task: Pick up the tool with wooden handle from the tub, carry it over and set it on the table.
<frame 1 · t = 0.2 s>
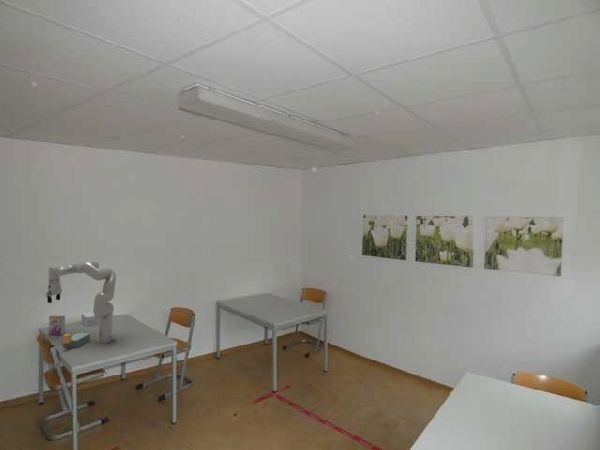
hand: (53, 301, 295), 31 cm above the table, fingers open, 9 cm apart
tub: (76, 344, 283), on the table
candy bar box: (56, 334, 305), on the table
tool with wooden handle: (76, 337, 283), point 6 cm above the table, touching tub
walnut cube B: (74, 345, 280), point 1 cm above the table, touching tub
walnut cube A: (79, 342, 286), point 1 cm above the table, touching tub
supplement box: (91, 323, 336), on the table
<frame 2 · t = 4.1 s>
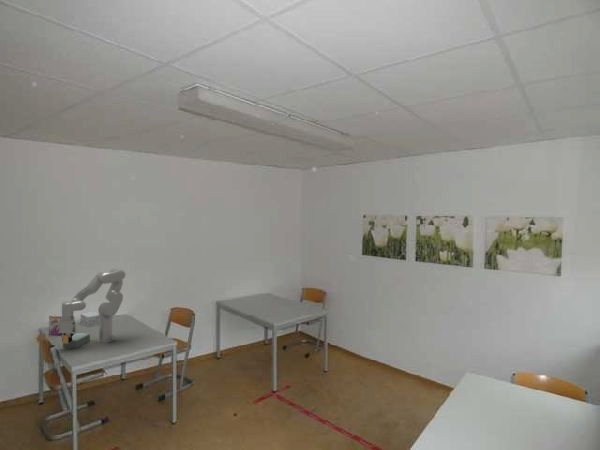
hand: (67, 341, 272), 7 cm above the table, fingers closed on tool with wooden handle, 4 cm apart
tool with wooden handle: (76, 337, 283), point 6 cm above the table, touching gripper, tub
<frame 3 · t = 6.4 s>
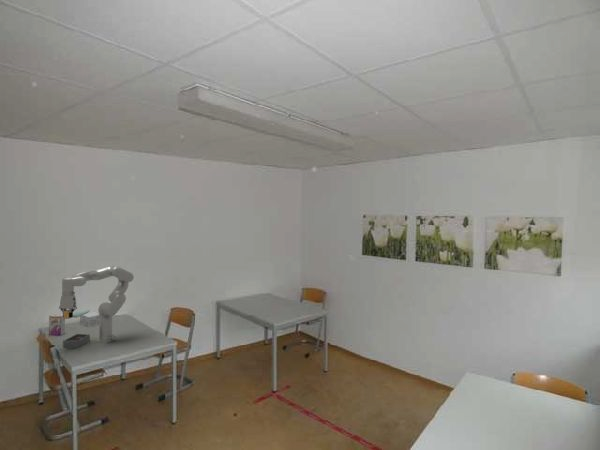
hand: (67, 317, 271), 26 cm above the table, fingers closed on tool with wooden handle, 4 cm apart
tool with wooden handle: (77, 313, 282), point 25 cm above the table, touching gripper
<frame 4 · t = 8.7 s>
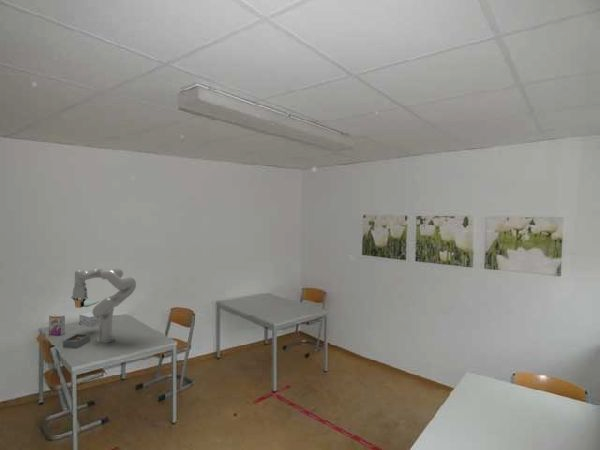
hand: (79, 306, 297), 27 cm above the table, fingers closed on tool with wooden handle, 4 cm apart
tool with wooden handle: (87, 303, 308), point 26 cm above the table, touching gripper
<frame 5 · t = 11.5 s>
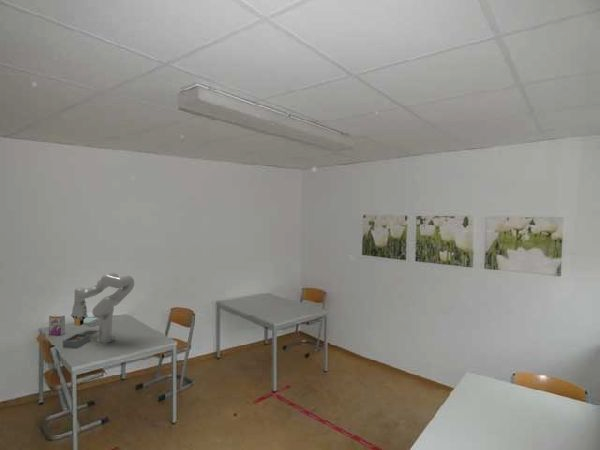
hand: (79, 324, 297), 12 cm above the table, fingers closed on tool with wooden handle, 4 cm apart
tool with wooden handle: (87, 321, 308), point 11 cm above the table, touching gripper
when the fingers open (2 cm above the table, at t = 13.8 s): tool with wooden handle stays where it is, point 1 cm above the table.
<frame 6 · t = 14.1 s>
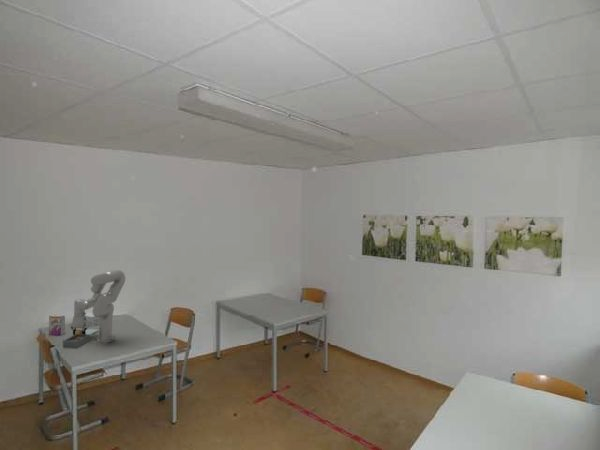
hand: (79, 334, 298), 3 cm above the table, fingers open, 7 cm apart
tool with wooden handle: (87, 333, 308), point 1 cm above the table
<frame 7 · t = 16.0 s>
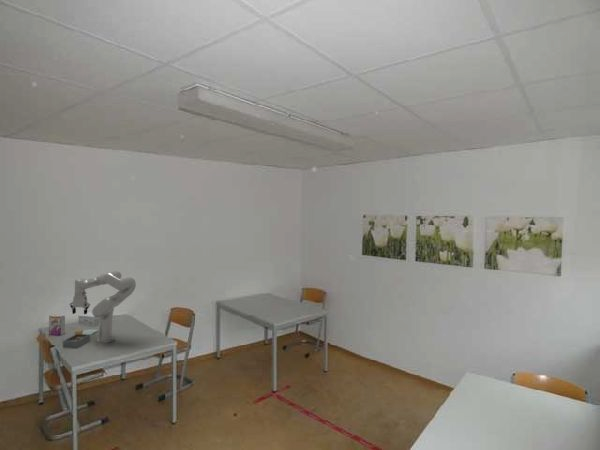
hand: (79, 313, 298), 21 cm above the table, fingers open, 9 cm apart
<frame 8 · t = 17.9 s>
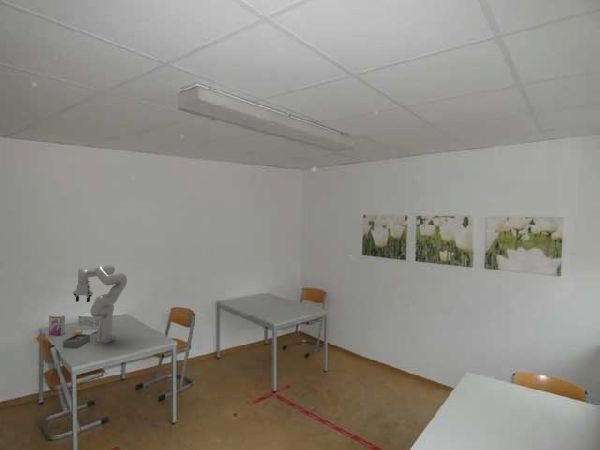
hand: (82, 301, 307), 28 cm above the table, fingers open, 9 cm apart
at the end: tool with wooden handle inside the target area (2.0 cm from its centre), point 0.5 cm above the table; tool with wooden handle touching table; the gripper is holding nothing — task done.
